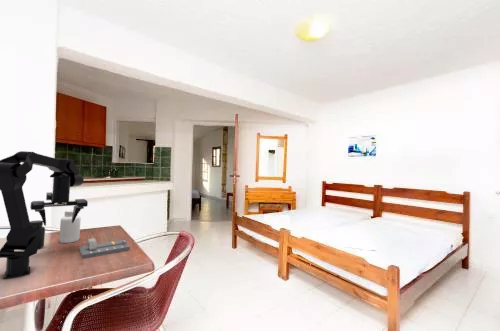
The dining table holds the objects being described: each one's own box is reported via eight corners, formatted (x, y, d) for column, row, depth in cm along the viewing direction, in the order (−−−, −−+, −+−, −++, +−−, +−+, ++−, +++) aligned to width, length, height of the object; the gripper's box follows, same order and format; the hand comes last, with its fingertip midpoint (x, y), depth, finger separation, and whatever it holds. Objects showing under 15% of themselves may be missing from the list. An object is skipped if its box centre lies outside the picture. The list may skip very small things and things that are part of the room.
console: (129, 249, 109) (130, 244, 109) (82, 258, 97) (83, 252, 97) (122, 242, 118) (123, 237, 118) (78, 250, 106) (79, 244, 106)
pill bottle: (81, 237, 122) (83, 209, 122) (76, 242, 115) (78, 212, 115) (62, 238, 119) (64, 209, 119) (56, 244, 112) (58, 212, 112)
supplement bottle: (31, 251, 101) (33, 223, 101) (19, 249, 102) (20, 222, 103) (48, 246, 108) (49, 220, 108) (36, 244, 109) (37, 219, 109)
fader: (96, 249, 103) (96, 240, 103) (89, 250, 101) (90, 241, 101) (94, 245, 107) (94, 237, 107) (87, 246, 105) (88, 238, 105)
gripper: (83, 186, 113) (81, 218, 113) (31, 186, 100) (28, 223, 100) (88, 188, 106) (86, 222, 105) (32, 188, 92) (29, 228, 92)
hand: (59, 224), depth 101 cm, fingers open, 9 cm apart
